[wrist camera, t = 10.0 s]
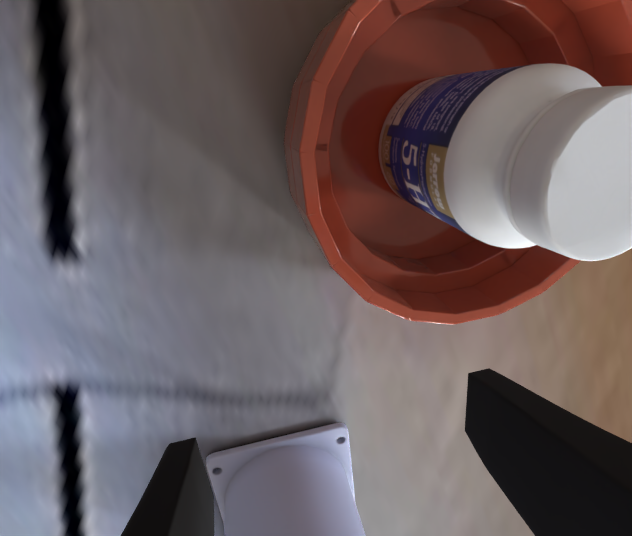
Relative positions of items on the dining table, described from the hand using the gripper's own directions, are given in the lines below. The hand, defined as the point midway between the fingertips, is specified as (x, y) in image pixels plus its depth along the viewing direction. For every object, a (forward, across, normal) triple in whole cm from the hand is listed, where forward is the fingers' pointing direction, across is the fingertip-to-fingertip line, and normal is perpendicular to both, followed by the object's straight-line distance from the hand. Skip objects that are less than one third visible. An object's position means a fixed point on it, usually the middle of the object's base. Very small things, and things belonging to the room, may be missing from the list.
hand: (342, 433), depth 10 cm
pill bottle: (+9, -7, -6) cm, 13 cm away
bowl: (+9, -7, -6) cm, 13 cm away
